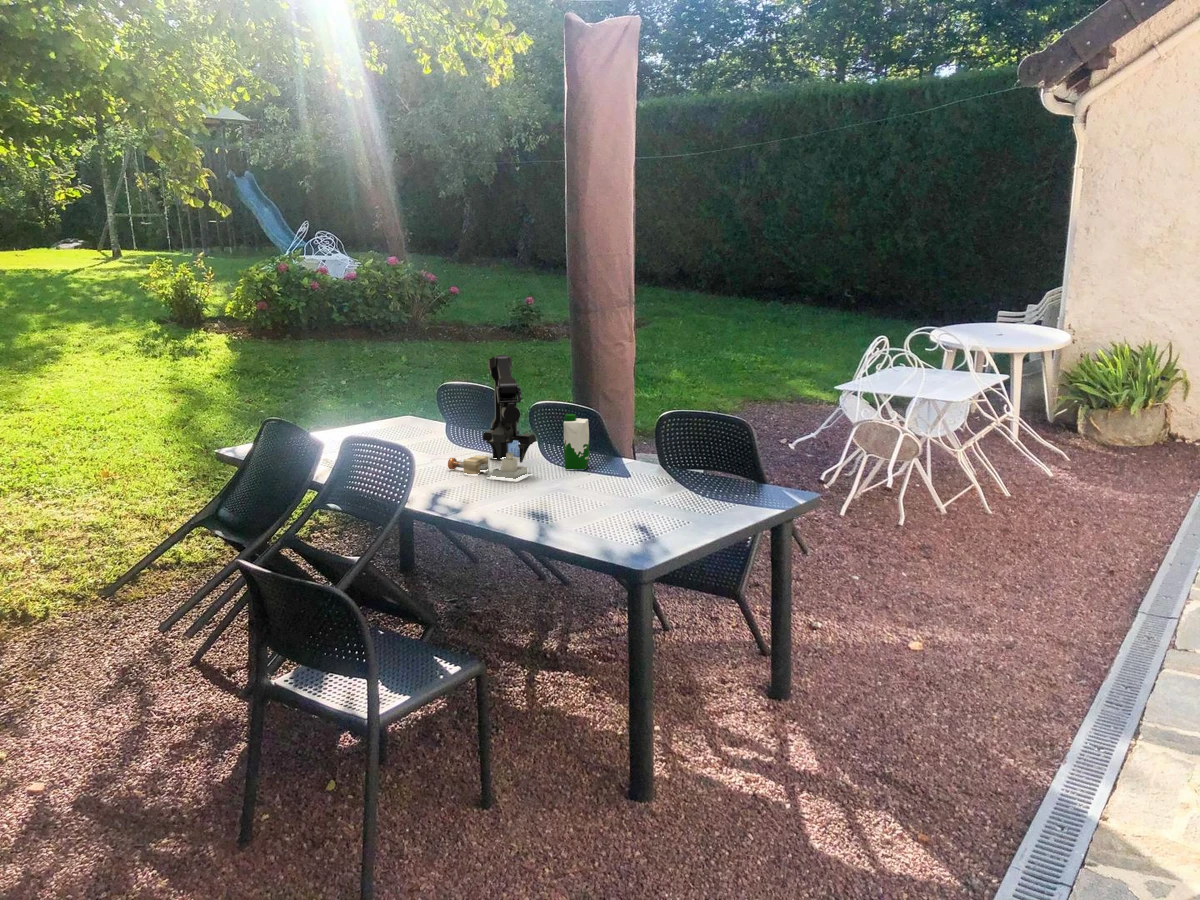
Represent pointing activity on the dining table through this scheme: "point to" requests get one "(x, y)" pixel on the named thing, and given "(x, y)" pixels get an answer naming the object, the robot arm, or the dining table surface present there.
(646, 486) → the dining table surface
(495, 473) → the socket
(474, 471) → the mount
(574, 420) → the milk carton
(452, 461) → the pin
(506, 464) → the spigot
